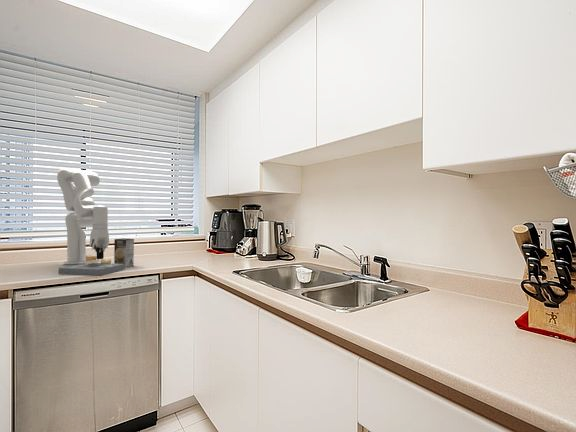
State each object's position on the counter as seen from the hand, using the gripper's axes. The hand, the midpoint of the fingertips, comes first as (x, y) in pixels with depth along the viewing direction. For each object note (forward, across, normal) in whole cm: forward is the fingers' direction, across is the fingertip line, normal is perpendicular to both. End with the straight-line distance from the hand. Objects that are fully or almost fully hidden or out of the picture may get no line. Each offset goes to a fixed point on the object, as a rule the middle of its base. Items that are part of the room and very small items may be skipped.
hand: (100, 258), depth 179 cm
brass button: (0, +13, +15) cm, 20 cm away
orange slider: (+2, +6, 0) cm, 7 cm away
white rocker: (0, +13, +7) cm, 15 cm away
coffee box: (+5, -7, +10) cm, 13 cm away
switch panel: (+5, +13, +7) cm, 16 cm away
